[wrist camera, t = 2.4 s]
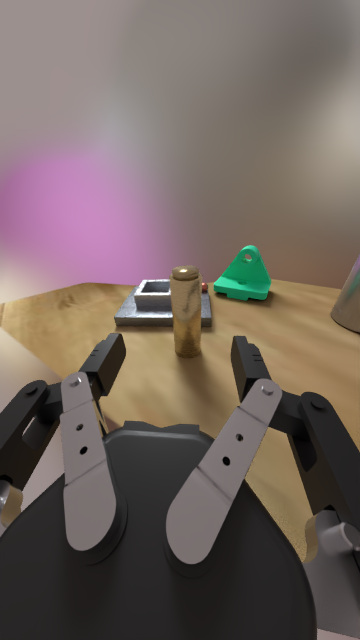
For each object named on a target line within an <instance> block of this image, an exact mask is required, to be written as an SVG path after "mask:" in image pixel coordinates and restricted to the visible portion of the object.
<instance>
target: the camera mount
mask: <svg viewBox="0 0 360 640" xmlns="http://www.w3.org/2000/svg"><path fill="white" fill-rule="evenodd" d="M245 254H249V255H250V256H251V257H252V259H251V260H247V259H246V258H245ZM270 285H271V279H270V276H269V274H268V272H267V269H266V267H265V265H264V262H263V260H262V257H261V255H260V253H259V250H258V249H257V248H256V247H255V246H247V247H245V248H243V249H242V250H241V251H240V252H239V253H238V255H237V256H236V258H235V259H234V260H233V262H232V263H231V264H230V266H229V267H228V268H227V269H226V271H225V272H224V273H223V274H222V276H221V277H220V278H219V279H218V280H217V281H216V282H215V283H214V291H216V292H221V293H227V297H229V298H235V299H240V300H245V301H247V300H248V298H255V299H260V300H264V299H266V297H267V294H268V291H269V288H270Z"/></svg>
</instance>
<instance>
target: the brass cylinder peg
mask: <svg viewBox="0 0 360 640" xmlns="http://www.w3.org/2000/svg"><path fill="white" fill-rule="evenodd" d="M169 281H170V293H171V305H172V317H173V329H174V342H175V351H176V353H177V355H179V356H180V357H183V358H192V357H195V356H197V355H198V354H199V353H200V344H201V303H202V275H201V274H200V273H199V269H198V268H197V267H194V266H179V267H176V268H174V269H173V270H172V274H171V275H170V276H169Z"/></svg>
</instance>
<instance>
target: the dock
mask: <svg viewBox="0 0 360 640" xmlns="http://www.w3.org/2000/svg"><path fill="white" fill-rule="evenodd" d="M114 319H115V323H116V326H173V317H172V305H171V293H170V281H169V280H143V282H142V283H141V285H140V286H136V287H134V289H133V290H132V292H131V293H130V294H129V296H128V297H127V299H126V300H125V302H124V303H123V305H122V306H121V308H120V309H119V310H118V312H117V313H116V315H115V316H114ZM201 327H211V311H210V302H209V294H208V285H207V284H206V283H202V303H201Z"/></svg>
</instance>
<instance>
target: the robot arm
mask: <svg viewBox="0 0 360 640" xmlns="http://www.w3.org/2000/svg"><path fill="white" fill-rule="evenodd" d="M331 316H332V318H333V319H334V320H335V321H336V322H337V323H339V324H341V325H342V326H344V327H346V328H348V329H350V330H353V331H356V332H359V333H360V255H359V257H358V259H357V261H356V263H355V265H354V267H353V269H352V271H351V273H350V275H349V277H348V279H347V281H346V283H345V285H344V287H343V289H342V291H341V293H340V295H339V297H338V299H337V301H336V303H335V305H334V307H333V309H332V311H331ZM125 356H126V348H125V344H124V340H123V337H122V334H120V333H110V334H109V335H108V337H107V338H106V340H102V341H101V342H100V343H98V344H97V345H96V347H95V348H94V350H93V351H92V352H91V354H90V356H89V357H88V358H87V360H86V361H85V363H84V364H83V365H82V367H81V368H80V370H79V371H78V372H75V373H73V374H70V375H69V376H67V377H66V378H65V379H64V380H63V382H61V383H56V384H52V385H47V383H46V382H45V381H43V380H37V381H33V382H31V383H29V384H27V385H26V386H24V387H23V388H22V389H21V390H20V391H19V392H18V394H17V395H16V396H15V397H14V398H13V399H12V400H11V402H10V403H9V404H8V405H7V406H6V407H5V409H4V410H3V411H2V412H1V413H0V640H317V628H318V629H322V630H326V631H330V632H334V633H338V634H342V635H346V636H350V637H354V638H358V639H360V452H359V450H358V448H357V447H356V445H355V443H354V442H353V440H352V438H351V437H350V435H349V433H348V432H347V430H346V428H345V427H344V425H343V423H342V422H341V420H340V418H339V416H338V415H337V413H336V411H335V410H334V408H333V406H332V405H331V403H330V402H329V401H328V400H327V399H325V398H324V397H323V396H321V395H319V394H317V393H314V392H304V393H303V394H302V395H301V396H298V395H295V394H291V393H288V392H285V391H283V390H281V388H280V387H279V385H277V384H276V383H275V382H273V381H272V379H271V377H270V375H269V372H268V370H267V368H266V365H265V363H264V361H263V358H262V356H261V353H260V351H259V349H258V348H257V347H256V346H255V345H254V344H248V342H247V339H246V337H245V336H234V337H233V342H232V348H231V363H232V367H233V372H234V376H235V381H236V386H237V390H238V395H239V400H240V403H242V404H241V405H240V406H237V407H236V409H235V410H234V412H233V413H232V415H231V416H230V418H229V419H228V421H227V422H226V424H225V425H224V427H223V428H222V430H221V432H220V433H219V435H218V436H217V438H216V439H215V440H214V439H213V438H212V437H211V436H209V435H208V434H206V433H204V432H201V431H199V425H191V424H178V425H173V426H168V427H164V428H159V427H156V426H153V425H151V424H148V423H145V422H140V421H125V422H124V426H123V427H120V428H118V429H115V430H113V431H111V432H109V431H108V429H107V426H106V422H105V419H104V416H103V412H102V409H101V405H100V402H99V399H100V397H101V396H108V394H109V392H110V390H111V388H112V385H113V383H114V381H115V379H116V377H117V374H118V372H119V370H120V368H121V366H122V363H123V361H124V359H125ZM33 417H34V418H35V419H34V420H33V422H32V423H31V425H30V426H29V428H28V429H27V431H26V432H25V433H24V435H23V432H24V430H25V428H26V427H27V426H28V424H29V423H30V421H31V420H32V418H33ZM59 424H61V436H62V446H63V459H64V471H65V473H63V474H62V475H61V477H59V478H58V479H57V480H56V481H55V482H54V483H53V484H52V485H50V486H49V487H48V488H47V489H46V490H45V491H44V492H43V493H42V494H41V495H40V496H39V497H38V498H37V499H35V500H34V501H33V502H32V503H31V504H30V505H29V506H28V507H27V508H26V509H25V510H23V512H21V504H22V501H23V493H22V491H23V489H24V487H25V485H26V483H27V482H28V480H29V478H30V476H31V474H32V473H33V471H34V469H35V467H36V465H37V464H38V462H39V460H40V458H41V456H42V455H43V453H44V451H45V449H46V447H47V446H48V444H49V442H50V440H51V438H52V437H53V435H54V433H55V431H56V429H57V428H58V426H59ZM268 427H271V428H273V429H276V430H279V431H281V432H284V433H286V434H287V437H288V440H289V443H290V446H291V449H292V452H293V455H294V458H295V461H296V464H297V467H298V470H299V473H300V476H301V479H302V482H303V486H304V489H305V492H306V495H307V498H308V501H309V504H310V507H311V510H312V513H313V517H311V518H310V519H309V520H308V521H307V522H306V525H305V538H306V543H307V554H306V558H305V560H304V561H303V562H301V560H300V558H299V556H298V554H297V553H296V551H295V549H294V548H293V546H292V545H291V543H290V542H289V540H288V539H287V537H286V536H285V535H284V533H283V532H282V530H281V529H280V528H279V526H278V525H277V524H276V522H275V521H274V519H273V518H272V517H271V515H270V514H269V512H268V511H267V510H266V508H265V507H264V505H263V504H262V503H261V501H260V500H259V499H258V497H257V496H256V494H255V493H254V492H253V490H252V489H251V487H250V486H249V485H248V483H247V482H246V480H245V479H244V478H245V476H246V474H247V472H248V470H249V467H250V465H251V463H252V461H253V459H254V456H255V454H256V452H257V450H258V448H259V446H260V443H261V441H262V439H263V437H264V435H265V433H266V430H267V428H268ZM22 435H23V436H22Z"/></svg>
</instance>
